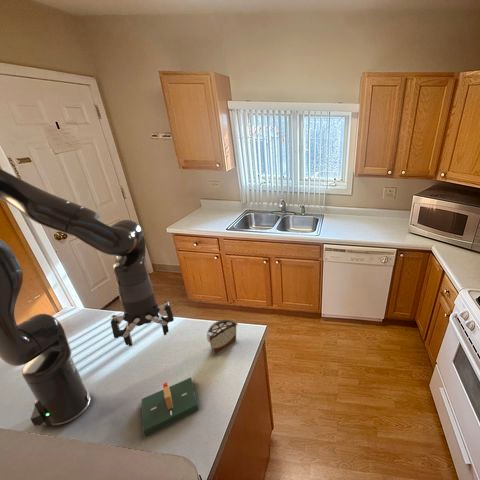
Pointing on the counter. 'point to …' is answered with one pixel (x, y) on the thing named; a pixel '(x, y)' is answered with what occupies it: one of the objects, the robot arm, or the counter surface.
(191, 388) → the panel
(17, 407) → the counter surface
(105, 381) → the counter surface
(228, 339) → the cake slice
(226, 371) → the counter surface
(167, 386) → the handle
